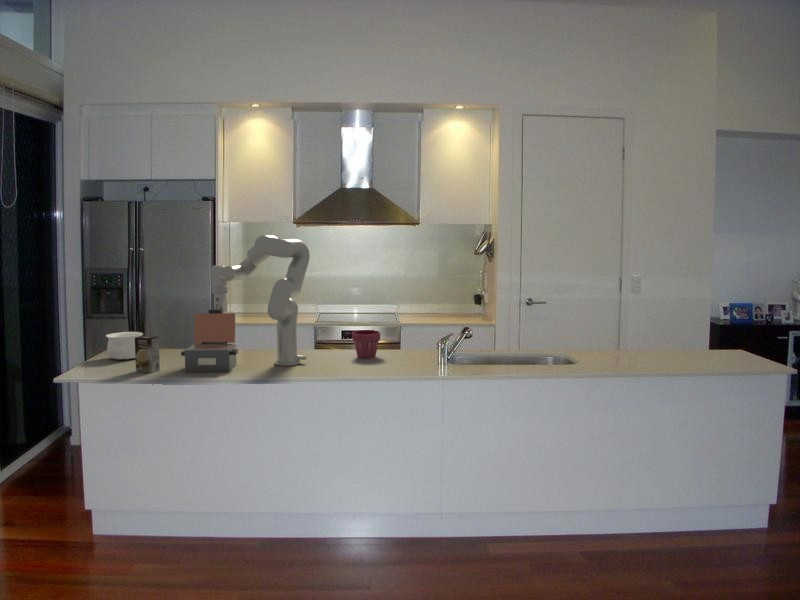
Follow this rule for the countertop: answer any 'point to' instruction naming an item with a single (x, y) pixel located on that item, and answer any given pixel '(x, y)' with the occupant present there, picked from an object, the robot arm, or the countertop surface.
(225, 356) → the cooker base
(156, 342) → the coffee box
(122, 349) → the pot
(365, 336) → the plant pot
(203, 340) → the lid
